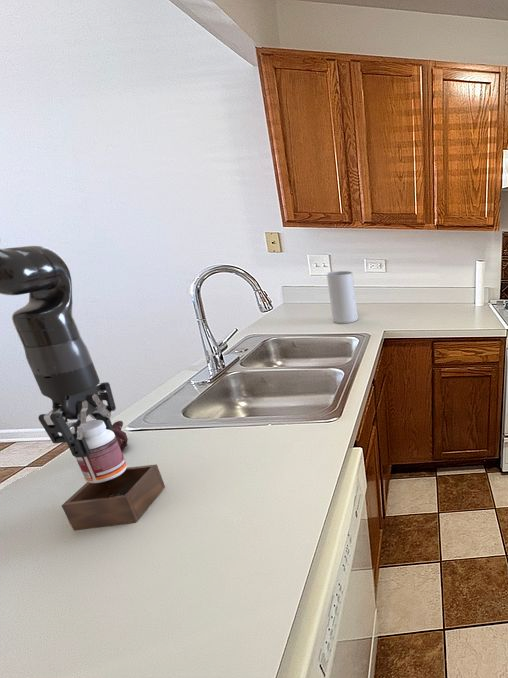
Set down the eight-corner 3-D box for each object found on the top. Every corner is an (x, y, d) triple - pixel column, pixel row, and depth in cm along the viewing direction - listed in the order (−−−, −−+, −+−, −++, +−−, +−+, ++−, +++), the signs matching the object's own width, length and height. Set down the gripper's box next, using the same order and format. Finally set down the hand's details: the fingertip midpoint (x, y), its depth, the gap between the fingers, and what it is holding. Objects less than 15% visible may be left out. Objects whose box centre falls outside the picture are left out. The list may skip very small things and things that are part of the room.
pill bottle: (134, 462, 82) (116, 415, 77) (117, 481, 76) (97, 432, 72) (98, 467, 80) (78, 419, 76) (78, 486, 74) (55, 436, 70)
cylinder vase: (353, 316, 218) (347, 270, 209) (361, 321, 209) (355, 273, 200) (330, 319, 212) (323, 272, 202) (337, 325, 202) (330, 276, 193)
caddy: (73, 530, 75) (61, 505, 73) (109, 493, 85) (100, 470, 83) (136, 522, 77) (126, 497, 75) (165, 486, 87) (157, 464, 85)
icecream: (116, 442, 92) (139, 417, 105) (73, 442, 88) (102, 417, 102) (116, 469, 93) (138, 441, 106) (73, 470, 90) (102, 442, 103)
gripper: (68, 352, 75) (98, 428, 81) (-1, 383, 62) (42, 471, 68) (113, 349, 77) (140, 424, 83) (55, 380, 64) (92, 466, 70)
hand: (95, 445), depth 76 cm, fingers closed on pill bottle, 6 cm apart
